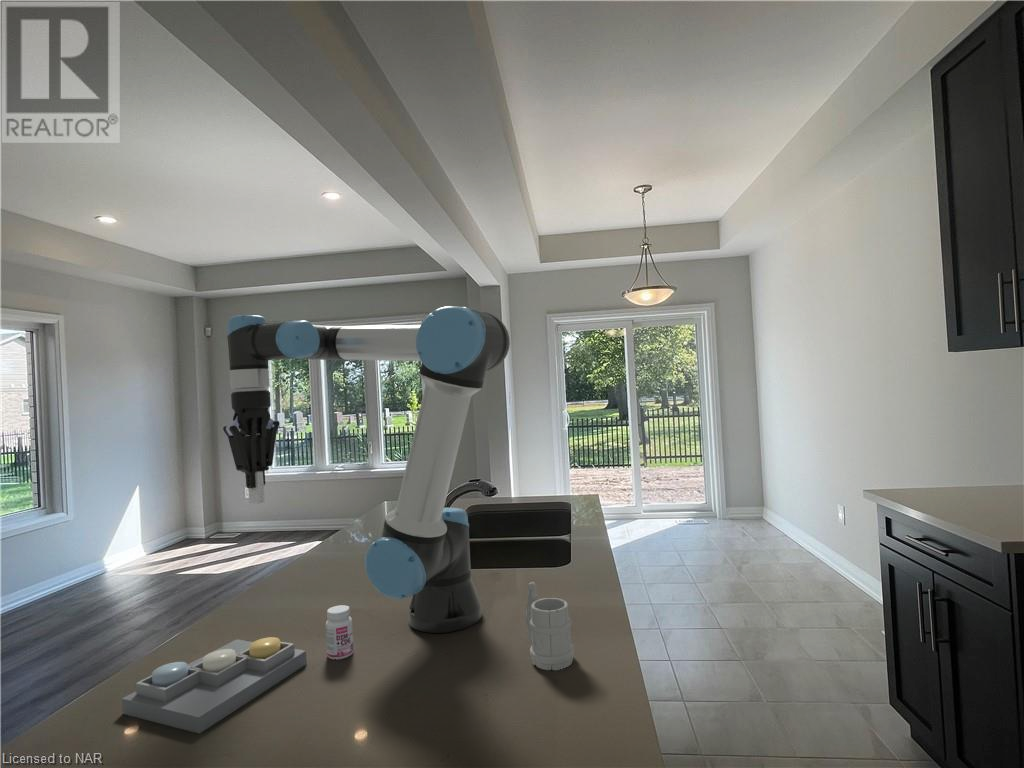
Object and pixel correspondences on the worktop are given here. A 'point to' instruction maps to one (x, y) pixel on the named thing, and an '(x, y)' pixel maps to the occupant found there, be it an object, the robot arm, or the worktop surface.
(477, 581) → the worktop surface
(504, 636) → the worktop surface
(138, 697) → the panel
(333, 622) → the pill bottle
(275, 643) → the ochre button
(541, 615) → the mug
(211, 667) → the ivory button
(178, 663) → the slate button
